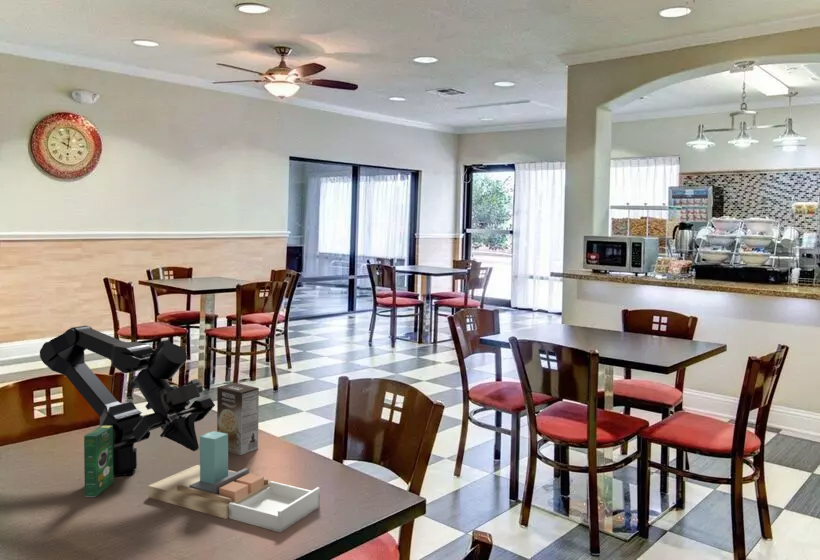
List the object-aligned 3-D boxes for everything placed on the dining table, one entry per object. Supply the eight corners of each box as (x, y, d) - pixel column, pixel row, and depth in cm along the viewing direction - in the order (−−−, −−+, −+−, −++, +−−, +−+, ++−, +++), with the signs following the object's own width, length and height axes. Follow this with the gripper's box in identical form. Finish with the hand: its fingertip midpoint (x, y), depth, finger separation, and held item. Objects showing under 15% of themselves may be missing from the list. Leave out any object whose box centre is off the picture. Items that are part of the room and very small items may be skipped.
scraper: (189, 490, 135) (189, 440, 135) (223, 474, 144) (223, 427, 144) (215, 497, 132) (215, 445, 131) (248, 480, 141) (248, 432, 140)
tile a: (236, 489, 137) (236, 479, 137) (248, 482, 141) (248, 473, 140) (251, 492, 135) (251, 483, 135) (263, 486, 139) (263, 476, 139)
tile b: (219, 497, 133) (219, 488, 132) (232, 490, 136) (232, 481, 136) (234, 501, 131) (234, 491, 131) (248, 494, 134) (248, 485, 134)
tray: (228, 518, 129) (228, 498, 129) (271, 494, 141) (271, 476, 140) (280, 532, 124) (280, 511, 123) (319, 506, 135) (319, 487, 135)
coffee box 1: (101, 482, 145) (100, 423, 144) (114, 482, 145) (113, 424, 144) (83, 497, 137) (82, 435, 136) (97, 497, 137) (96, 435, 136)
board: (148, 497, 138) (148, 480, 138) (197, 475, 151) (197, 460, 150) (226, 518, 129) (225, 501, 128) (271, 493, 141) (271, 477, 141)
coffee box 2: (215, 448, 169) (215, 386, 167) (234, 441, 174) (234, 381, 173) (241, 455, 164) (241, 392, 162) (259, 448, 169) (260, 387, 168)
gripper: (142, 378, 133) (183, 440, 129) (208, 361, 150) (246, 416, 146) (115, 410, 137) (154, 472, 133) (182, 391, 154) (219, 445, 150)
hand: (196, 449), depth 141 cm, fingers closed
